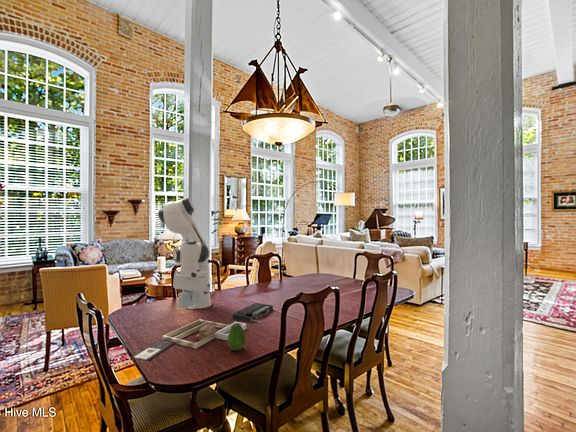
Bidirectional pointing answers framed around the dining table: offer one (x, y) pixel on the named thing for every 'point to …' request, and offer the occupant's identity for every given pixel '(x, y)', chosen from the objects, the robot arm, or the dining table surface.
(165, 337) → the frame
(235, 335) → the avocado
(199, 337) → the offcut low
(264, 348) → the dining table surface
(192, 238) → the robot arm
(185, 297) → the pale grey rectangular block
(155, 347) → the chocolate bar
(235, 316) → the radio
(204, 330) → the offcut top
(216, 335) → the cradle
